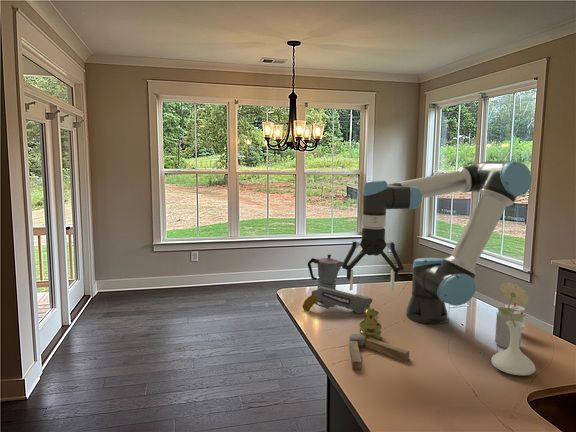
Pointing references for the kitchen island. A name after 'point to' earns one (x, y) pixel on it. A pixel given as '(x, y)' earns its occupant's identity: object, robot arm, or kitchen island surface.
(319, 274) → the moka pot
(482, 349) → the kitchen island surface
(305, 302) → the gun
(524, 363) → the flower in vase
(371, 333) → the yellow-green tapered rounded piece
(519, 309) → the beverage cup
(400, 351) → the long rectangular block
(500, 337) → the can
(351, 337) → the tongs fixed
